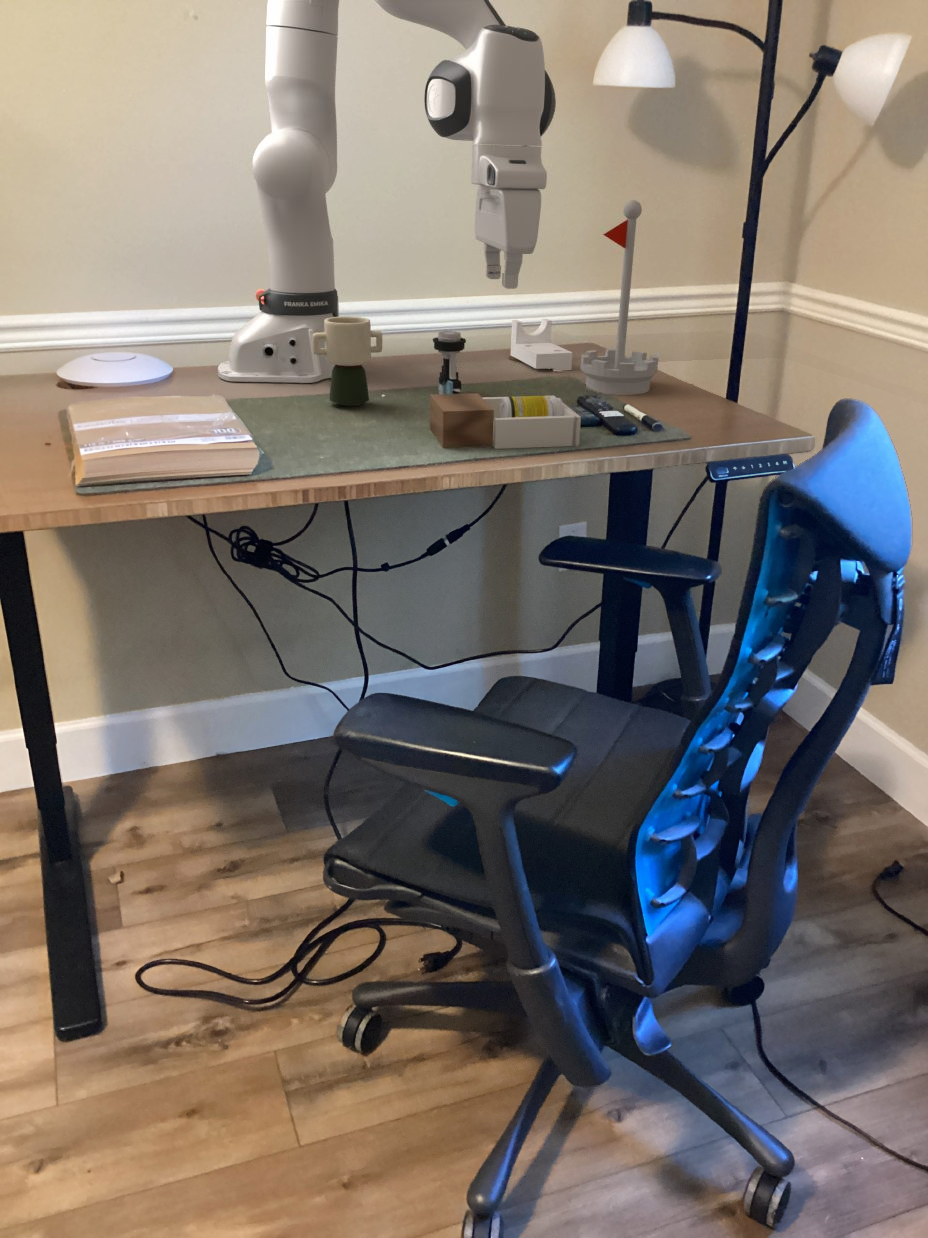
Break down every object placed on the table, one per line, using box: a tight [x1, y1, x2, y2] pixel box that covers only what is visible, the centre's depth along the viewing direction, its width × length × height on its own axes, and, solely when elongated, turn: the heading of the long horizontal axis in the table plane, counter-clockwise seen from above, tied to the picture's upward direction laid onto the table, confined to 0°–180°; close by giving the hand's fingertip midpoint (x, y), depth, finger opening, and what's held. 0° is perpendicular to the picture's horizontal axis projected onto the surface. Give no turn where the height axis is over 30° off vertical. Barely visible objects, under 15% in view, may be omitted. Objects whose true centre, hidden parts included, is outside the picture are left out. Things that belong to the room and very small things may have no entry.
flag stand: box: [580, 199, 659, 396], centre depth 169 cm, size 13×13×30 cm
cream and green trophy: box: [312, 315, 383, 406], centre depth 157 cm, size 11×7×13 cm, turn 109°
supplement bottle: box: [500, 395, 564, 418], centre depth 144 cm, size 5×5×8 cm
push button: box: [432, 330, 467, 394], centre depth 164 cm, size 7×5×10 cm
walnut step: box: [429, 392, 494, 449], centre depth 143 cm, size 7×10×5 cm
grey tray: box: [482, 395, 582, 450], centre depth 145 cm, size 12×13×4 cm
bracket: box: [510, 318, 573, 371], centre depth 190 cm, size 13×7×8 cm, turn 18°
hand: (501, 283), depth 136 cm, fingers open, 8 cm apart
